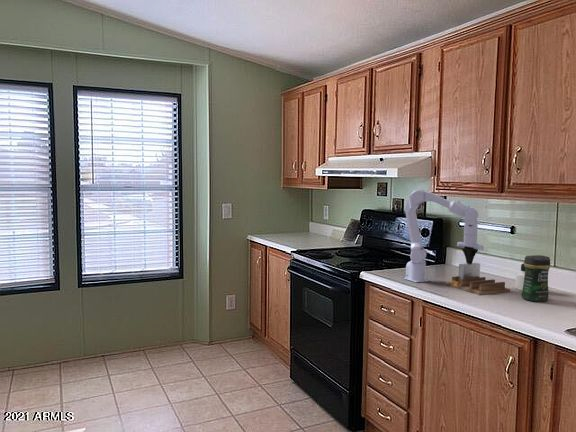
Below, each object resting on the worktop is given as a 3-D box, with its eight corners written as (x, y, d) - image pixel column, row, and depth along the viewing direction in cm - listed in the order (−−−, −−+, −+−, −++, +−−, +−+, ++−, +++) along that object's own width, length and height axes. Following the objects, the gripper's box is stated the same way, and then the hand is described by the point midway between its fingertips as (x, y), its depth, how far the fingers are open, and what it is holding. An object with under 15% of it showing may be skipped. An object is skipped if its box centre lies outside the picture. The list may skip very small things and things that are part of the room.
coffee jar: (531, 302, 195) (534, 257, 194) (518, 298, 203) (520, 254, 202) (552, 301, 198) (554, 256, 196) (538, 297, 205) (540, 253, 204)
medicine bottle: (526, 292, 214) (527, 265, 213) (514, 288, 220) (516, 262, 219) (539, 291, 215) (541, 264, 214) (528, 287, 222) (529, 262, 221)
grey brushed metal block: (458, 283, 225) (458, 264, 224) (474, 281, 229) (475, 262, 228) (462, 284, 222) (463, 265, 222) (479, 282, 226) (480, 263, 226)
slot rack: (446, 285, 226) (446, 276, 226) (476, 282, 233) (476, 274, 233) (479, 294, 208) (479, 285, 208) (509, 291, 215) (510, 282, 215)
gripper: (489, 235, 219) (487, 265, 220) (465, 232, 232) (464, 260, 233) (477, 236, 216) (476, 266, 217) (454, 232, 229) (453, 261, 230)
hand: (469, 263), depth 225 cm, fingers closed
